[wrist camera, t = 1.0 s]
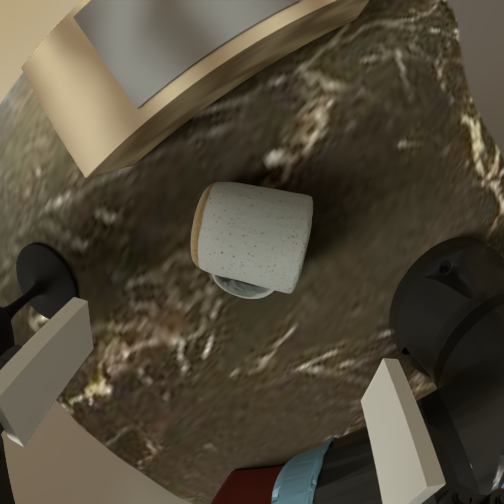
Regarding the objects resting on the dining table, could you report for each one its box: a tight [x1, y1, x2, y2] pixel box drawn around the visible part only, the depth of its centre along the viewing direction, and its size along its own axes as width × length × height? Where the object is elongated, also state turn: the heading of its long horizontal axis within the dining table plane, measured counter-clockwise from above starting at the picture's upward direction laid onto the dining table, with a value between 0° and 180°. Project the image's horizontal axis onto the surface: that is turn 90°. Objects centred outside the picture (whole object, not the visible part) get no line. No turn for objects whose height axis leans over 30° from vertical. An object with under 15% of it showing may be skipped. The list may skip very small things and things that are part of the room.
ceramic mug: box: [191, 182, 313, 299], centre depth 25 cm, size 11×8×8 cm
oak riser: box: [21, 0, 369, 178], centre depth 18 cm, size 24×12×8 cm, turn 124°
